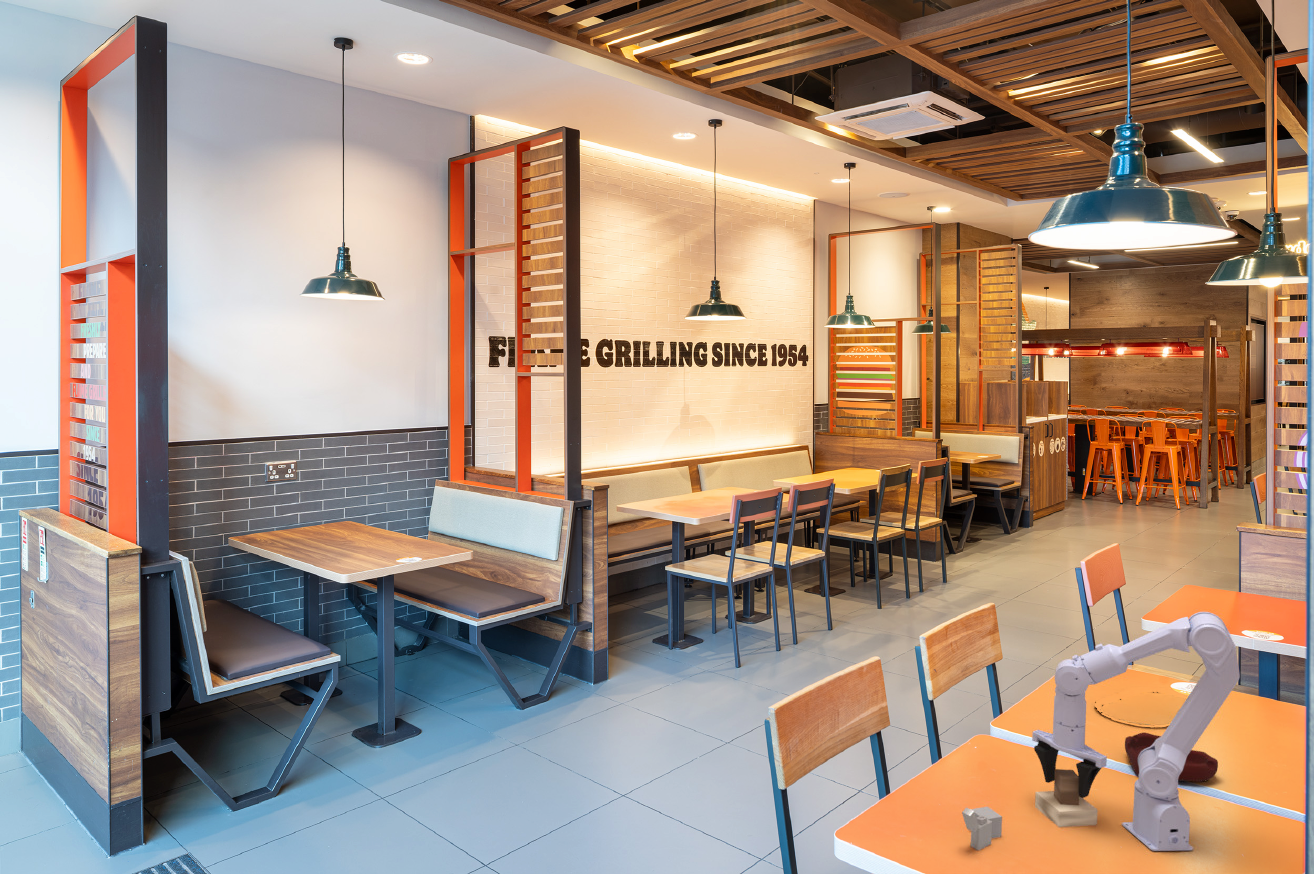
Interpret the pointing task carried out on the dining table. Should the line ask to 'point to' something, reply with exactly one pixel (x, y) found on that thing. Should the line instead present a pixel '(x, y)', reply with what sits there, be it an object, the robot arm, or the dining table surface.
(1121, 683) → the dining table surface
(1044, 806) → the birch block
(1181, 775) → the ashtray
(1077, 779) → the walnut block
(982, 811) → the grey block
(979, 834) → the lighter
